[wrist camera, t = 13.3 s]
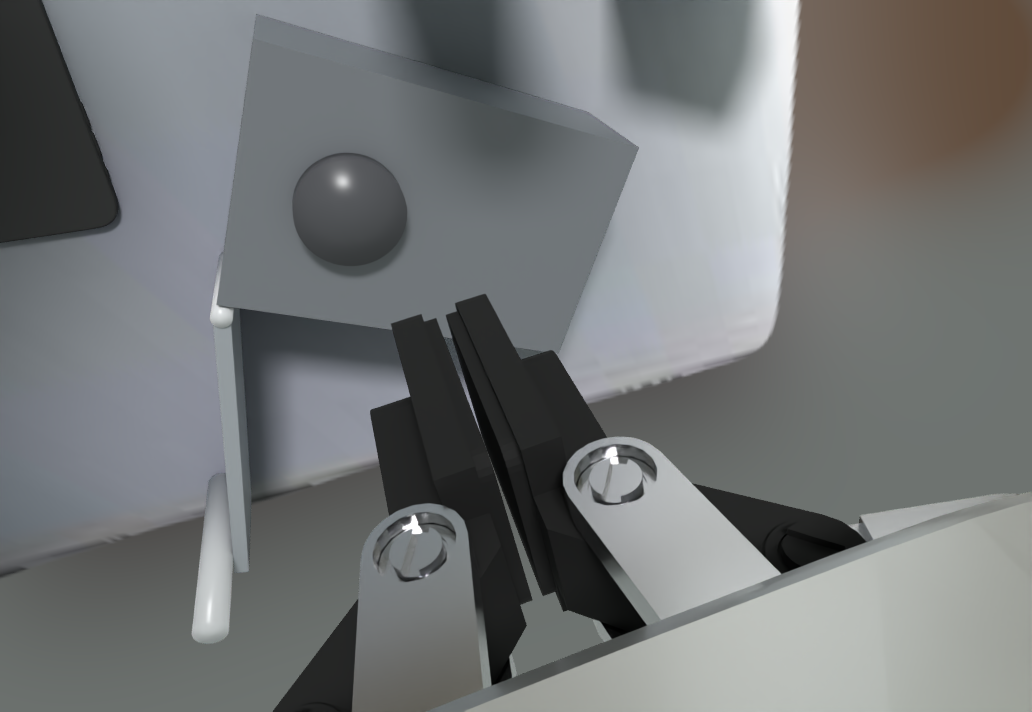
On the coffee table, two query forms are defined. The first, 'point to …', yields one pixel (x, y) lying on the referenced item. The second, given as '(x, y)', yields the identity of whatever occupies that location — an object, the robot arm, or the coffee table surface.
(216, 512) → the side door
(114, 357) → the coffee table surface
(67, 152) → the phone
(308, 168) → the cabinet body
